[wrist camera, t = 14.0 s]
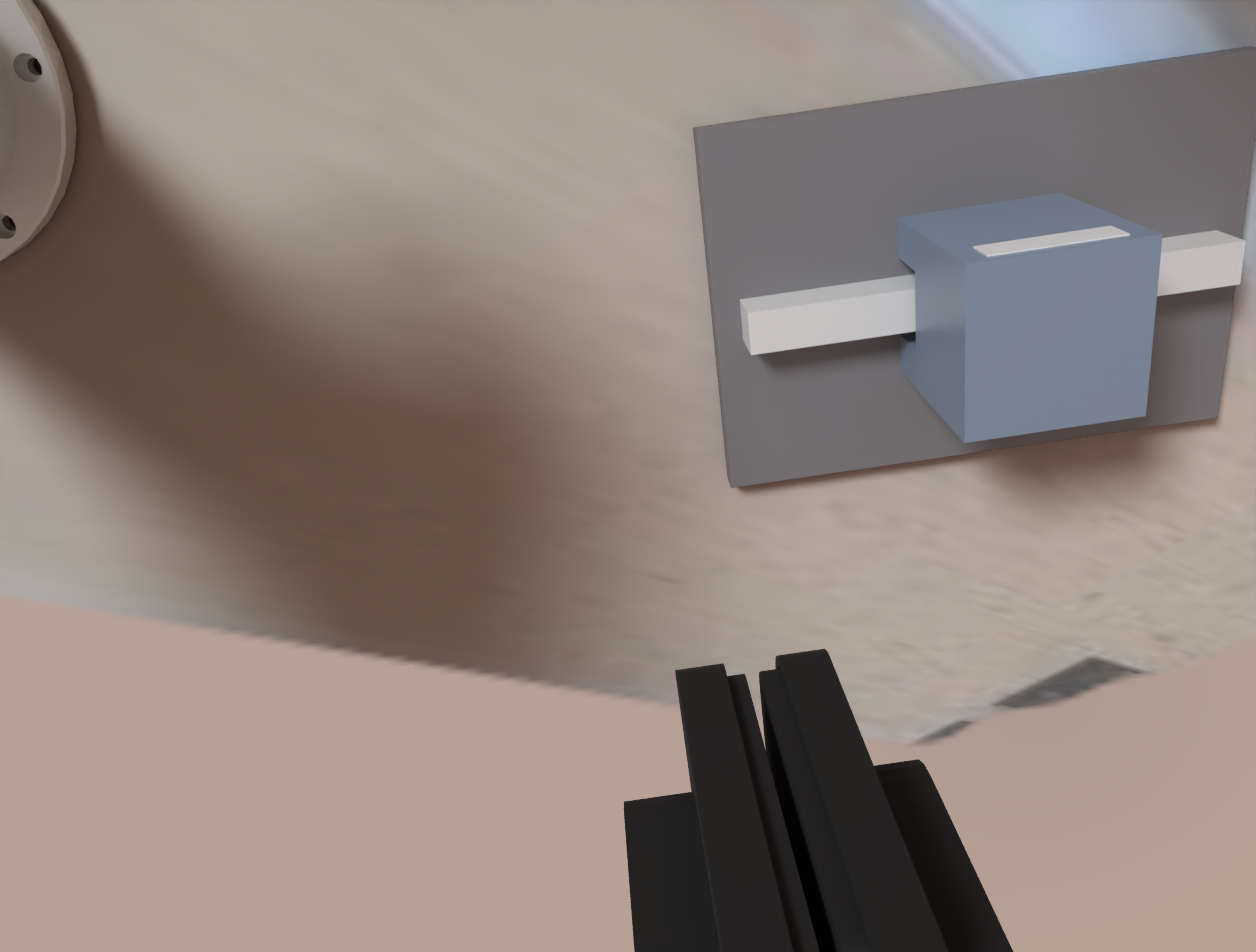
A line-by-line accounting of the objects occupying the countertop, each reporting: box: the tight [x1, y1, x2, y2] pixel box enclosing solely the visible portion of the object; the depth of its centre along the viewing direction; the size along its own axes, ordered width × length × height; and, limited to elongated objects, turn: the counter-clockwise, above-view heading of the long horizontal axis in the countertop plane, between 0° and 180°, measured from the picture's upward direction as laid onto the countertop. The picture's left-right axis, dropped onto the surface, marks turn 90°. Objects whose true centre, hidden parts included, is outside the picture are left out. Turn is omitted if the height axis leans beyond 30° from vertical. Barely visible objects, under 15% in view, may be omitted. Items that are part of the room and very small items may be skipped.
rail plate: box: [693, 47, 1256, 488], centre depth 38 cm, size 20×14×3 cm
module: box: [897, 193, 1163, 443], centre depth 35 cm, size 6×6×7 cm
